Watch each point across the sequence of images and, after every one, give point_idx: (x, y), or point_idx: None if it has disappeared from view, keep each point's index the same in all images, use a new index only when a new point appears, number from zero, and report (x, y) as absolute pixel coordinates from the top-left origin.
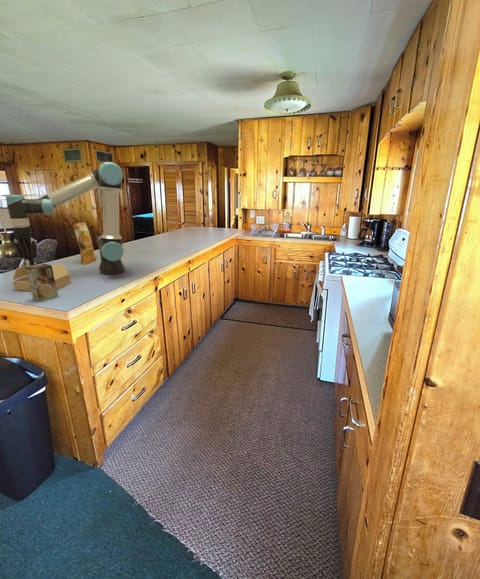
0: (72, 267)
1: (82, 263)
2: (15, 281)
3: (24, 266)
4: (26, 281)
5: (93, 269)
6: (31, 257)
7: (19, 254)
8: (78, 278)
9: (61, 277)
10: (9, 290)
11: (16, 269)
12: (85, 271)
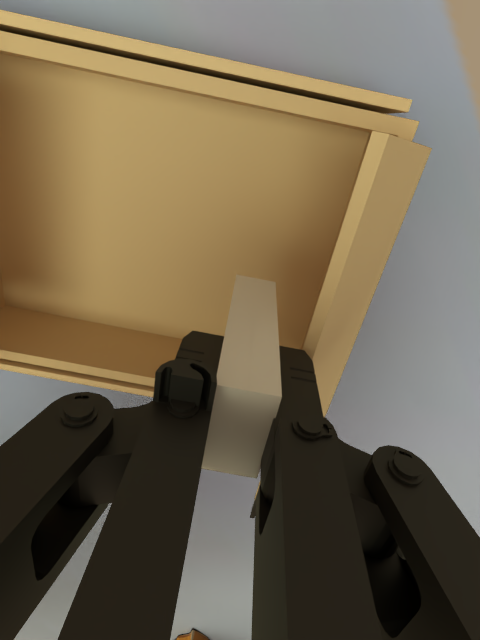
0: (225, 598)
1: (197, 638)
2: (373, 92)
3: (313, 315)
4: (231, 95)
5: (75, 558)
6: (82, 410)
7: (457, 550)
8: (34, 411)
9: (45, 339)
10: (439, 123)
11: (382, 135)
12: (96, 533)
